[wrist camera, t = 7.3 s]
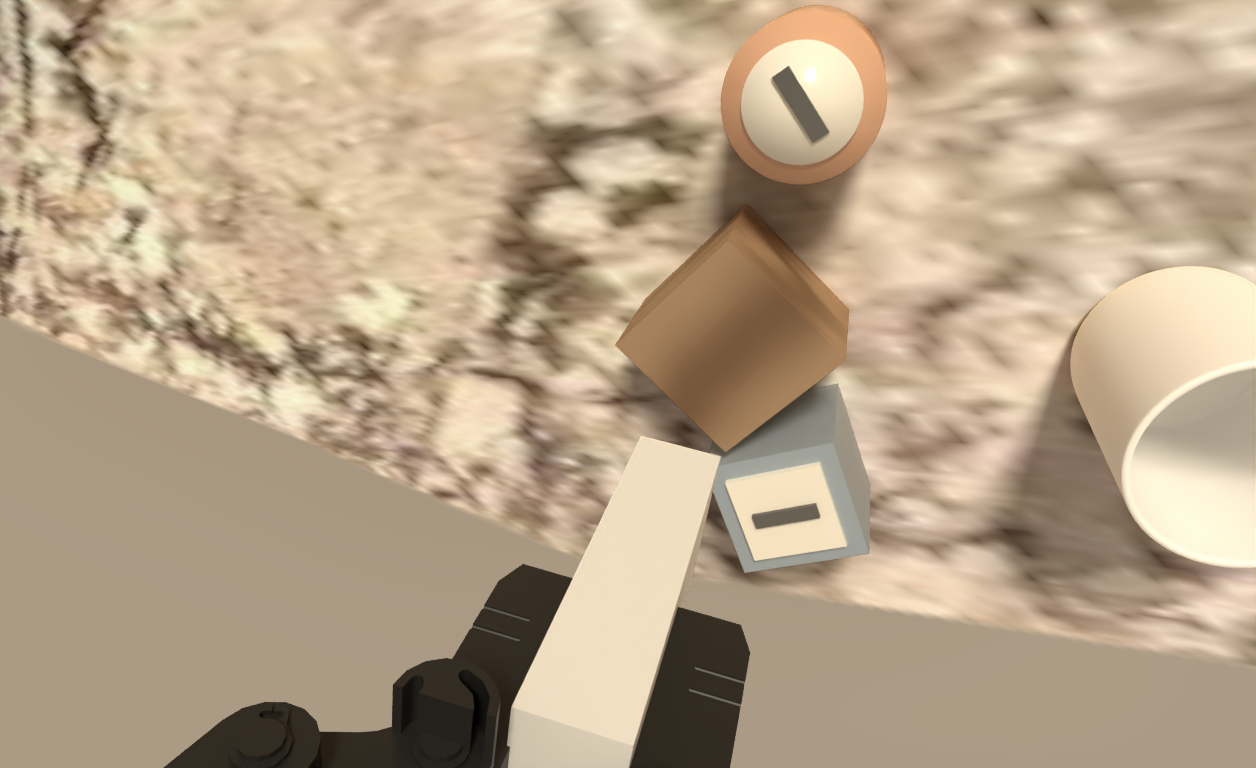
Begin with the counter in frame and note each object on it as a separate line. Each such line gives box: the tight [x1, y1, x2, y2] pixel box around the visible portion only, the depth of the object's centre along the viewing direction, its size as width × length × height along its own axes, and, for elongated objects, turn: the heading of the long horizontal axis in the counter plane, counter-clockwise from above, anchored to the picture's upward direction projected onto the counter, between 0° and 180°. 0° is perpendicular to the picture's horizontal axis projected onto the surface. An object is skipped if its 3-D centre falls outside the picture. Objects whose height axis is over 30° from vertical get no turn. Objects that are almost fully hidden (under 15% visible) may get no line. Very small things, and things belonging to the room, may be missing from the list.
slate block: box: [709, 384, 870, 573], centre depth 42 cm, size 6×6×6 cm
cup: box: [1070, 266, 1256, 568], centre depth 34 cm, size 8×12×10 cm
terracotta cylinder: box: [721, 5, 887, 184], centre depth 34 cm, size 6×6×6 cm
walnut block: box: [615, 204, 849, 452], centre depth 40 cm, size 7×7×6 cm
